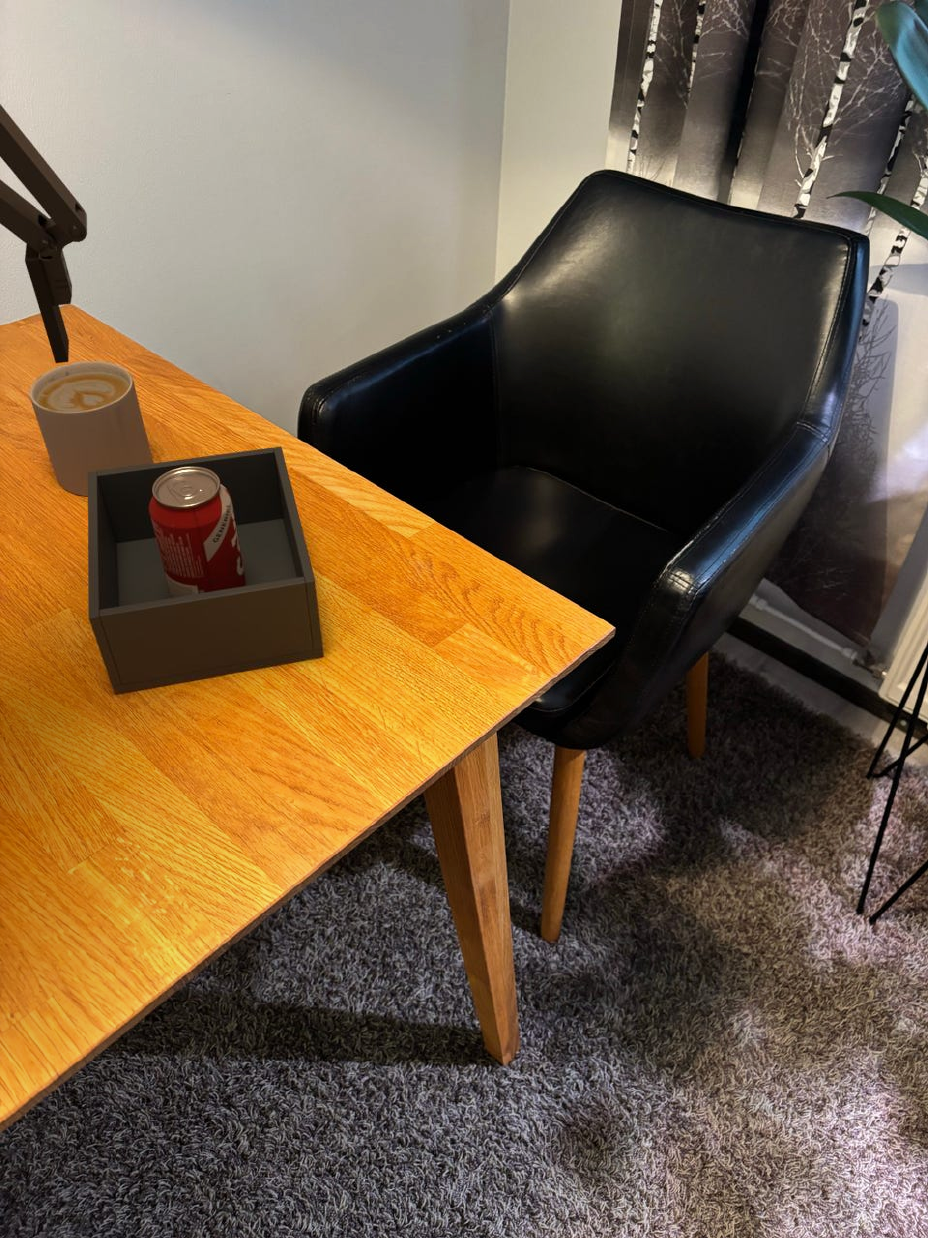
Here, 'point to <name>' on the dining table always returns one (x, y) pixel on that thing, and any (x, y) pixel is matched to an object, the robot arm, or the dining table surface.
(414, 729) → the dining table surface
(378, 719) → the dining table surface
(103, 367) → the coffee mug
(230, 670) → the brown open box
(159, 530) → the soda can
